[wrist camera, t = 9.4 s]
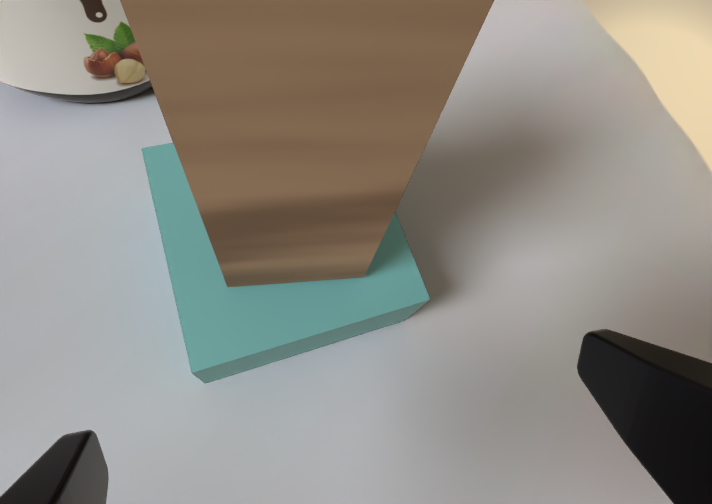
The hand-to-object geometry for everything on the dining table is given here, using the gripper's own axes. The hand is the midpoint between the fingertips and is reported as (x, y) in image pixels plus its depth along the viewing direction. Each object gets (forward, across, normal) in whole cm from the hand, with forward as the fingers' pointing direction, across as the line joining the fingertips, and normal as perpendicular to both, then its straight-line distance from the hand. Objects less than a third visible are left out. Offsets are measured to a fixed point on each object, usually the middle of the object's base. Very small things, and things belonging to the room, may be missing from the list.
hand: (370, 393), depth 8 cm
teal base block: (+14, 0, +3) cm, 14 cm away
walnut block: (+11, 0, 0) cm, 11 cm away
